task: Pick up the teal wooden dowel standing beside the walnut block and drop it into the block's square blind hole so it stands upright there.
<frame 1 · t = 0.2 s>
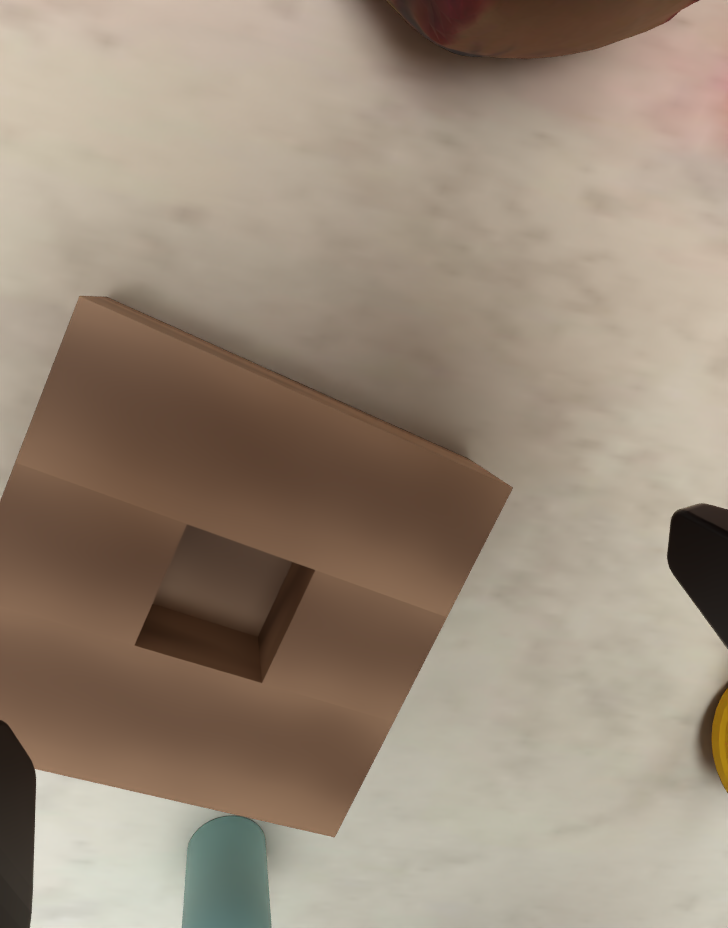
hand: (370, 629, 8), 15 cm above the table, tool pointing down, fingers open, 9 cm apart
hole block: (226, 557, 24), on the table
dowel: (226, 848, 27), on the table
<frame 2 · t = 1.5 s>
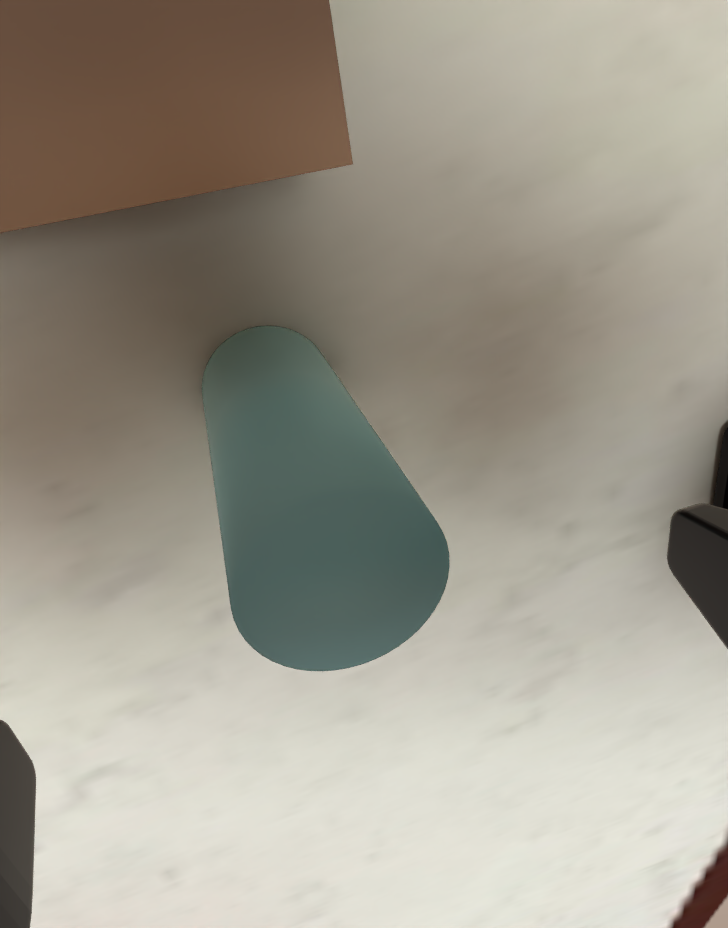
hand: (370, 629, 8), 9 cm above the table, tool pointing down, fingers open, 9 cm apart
dowel: (267, 389, 16), on the table
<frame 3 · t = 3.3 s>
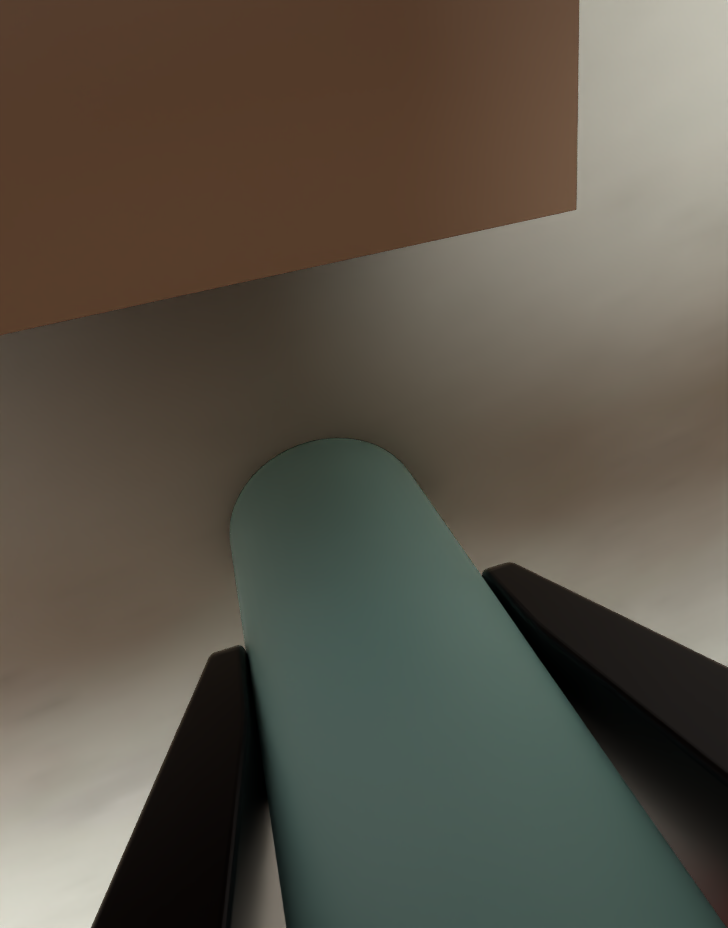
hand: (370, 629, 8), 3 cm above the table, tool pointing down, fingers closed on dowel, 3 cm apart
dowel: (328, 526, 10), on the table, touching gripper
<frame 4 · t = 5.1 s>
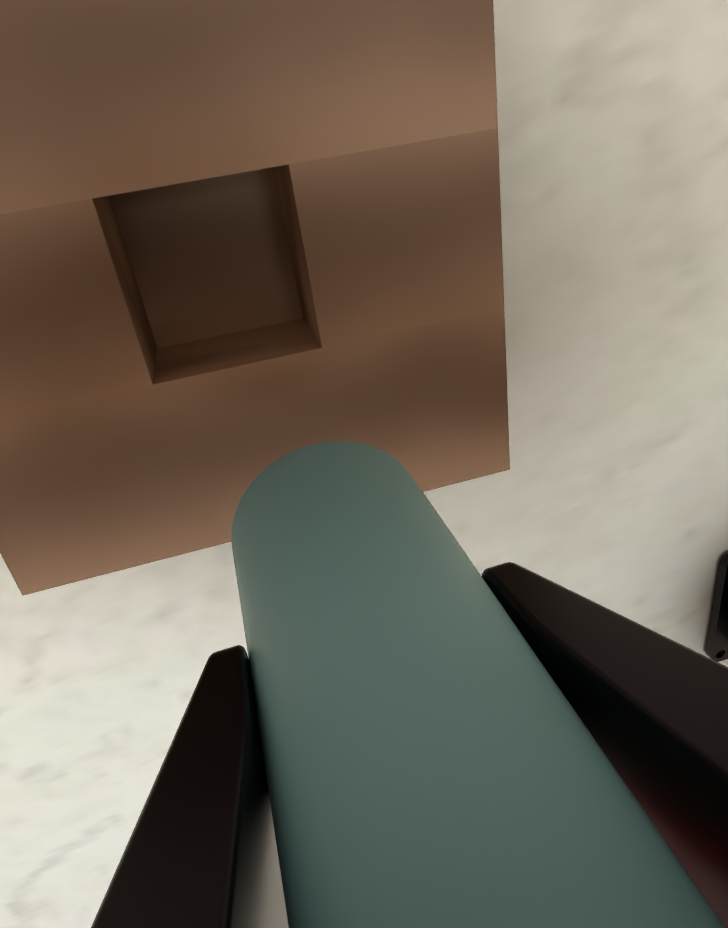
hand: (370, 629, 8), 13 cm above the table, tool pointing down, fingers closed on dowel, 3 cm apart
hole block: (211, 252, 18), on the table
dowel: (330, 529, 11), point 11 cm above the table, touching gripper
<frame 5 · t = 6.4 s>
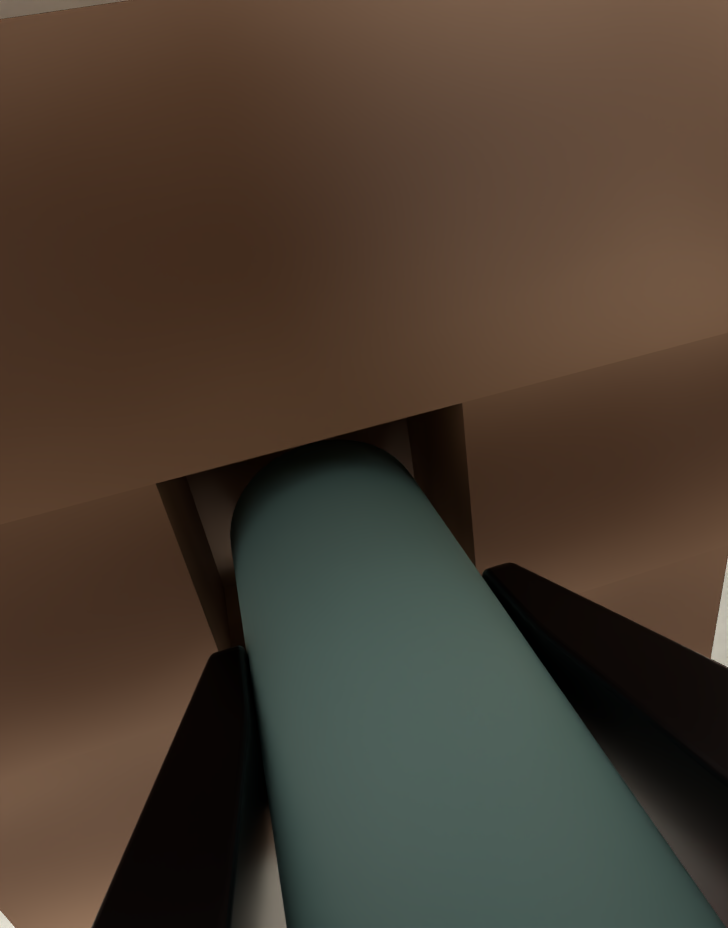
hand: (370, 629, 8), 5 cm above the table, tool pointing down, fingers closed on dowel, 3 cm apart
hole block: (295, 448, 13), on the table
dowel: (329, 528, 10), point 3 cm above the table, touching gripper
when the fingers open (5 cm above the table, at t = 7.1 s): dowel drops 1 cm, resting on hole block.
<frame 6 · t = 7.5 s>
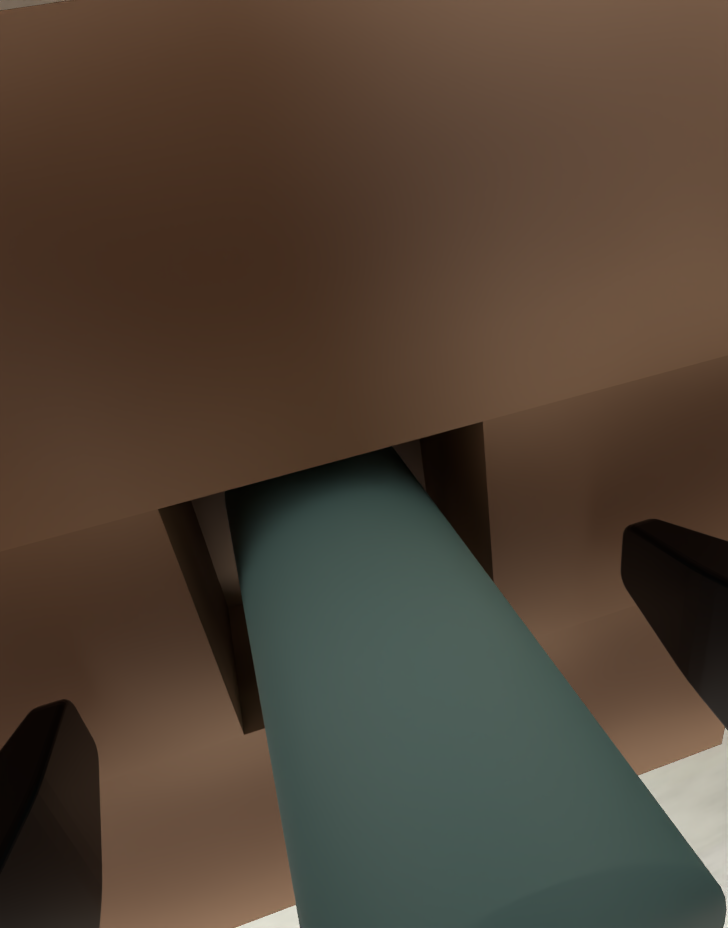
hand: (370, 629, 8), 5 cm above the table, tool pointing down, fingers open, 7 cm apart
hole block: (302, 463, 12), on the table
dowel: (314, 490, 12), point 1 cm above the table, touching hole block
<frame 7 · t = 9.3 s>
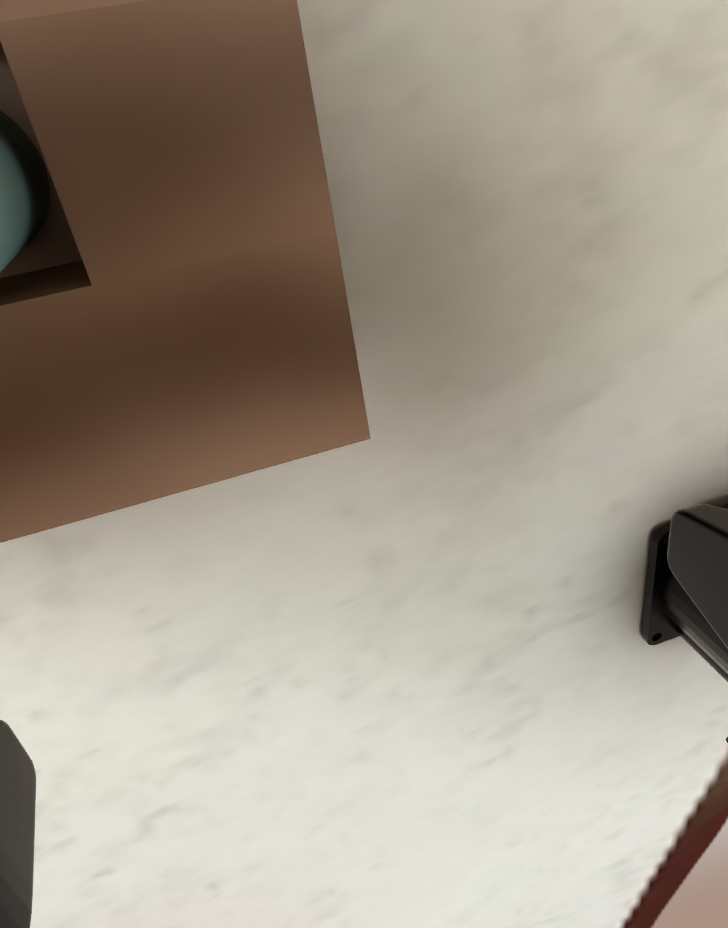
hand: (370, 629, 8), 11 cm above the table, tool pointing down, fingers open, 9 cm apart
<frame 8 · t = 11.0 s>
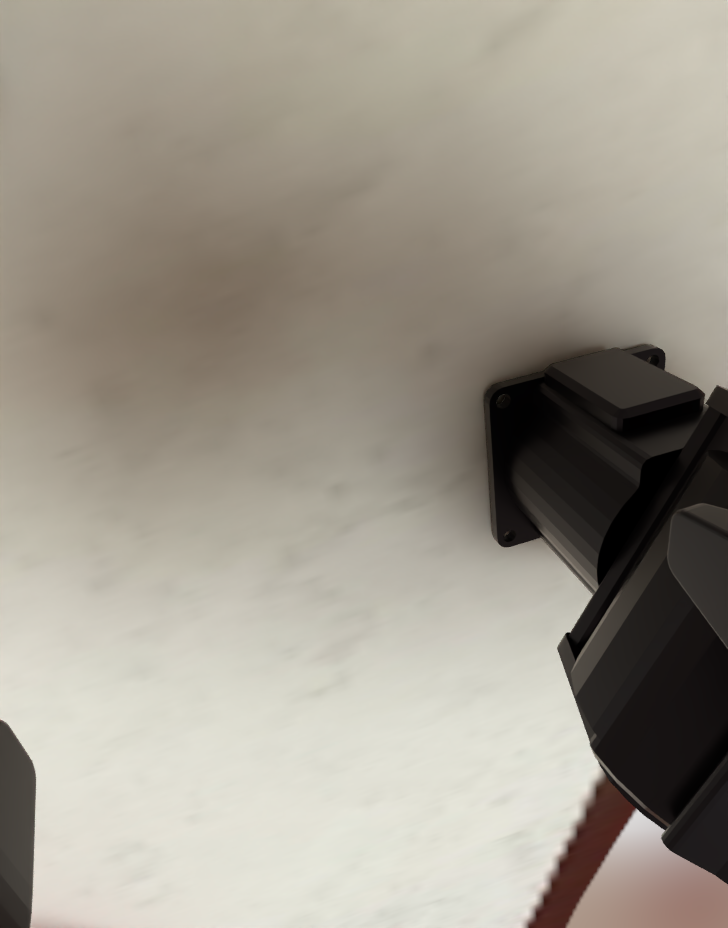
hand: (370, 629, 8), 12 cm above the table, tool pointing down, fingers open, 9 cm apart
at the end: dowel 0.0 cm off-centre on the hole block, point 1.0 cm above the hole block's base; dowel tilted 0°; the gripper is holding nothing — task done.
